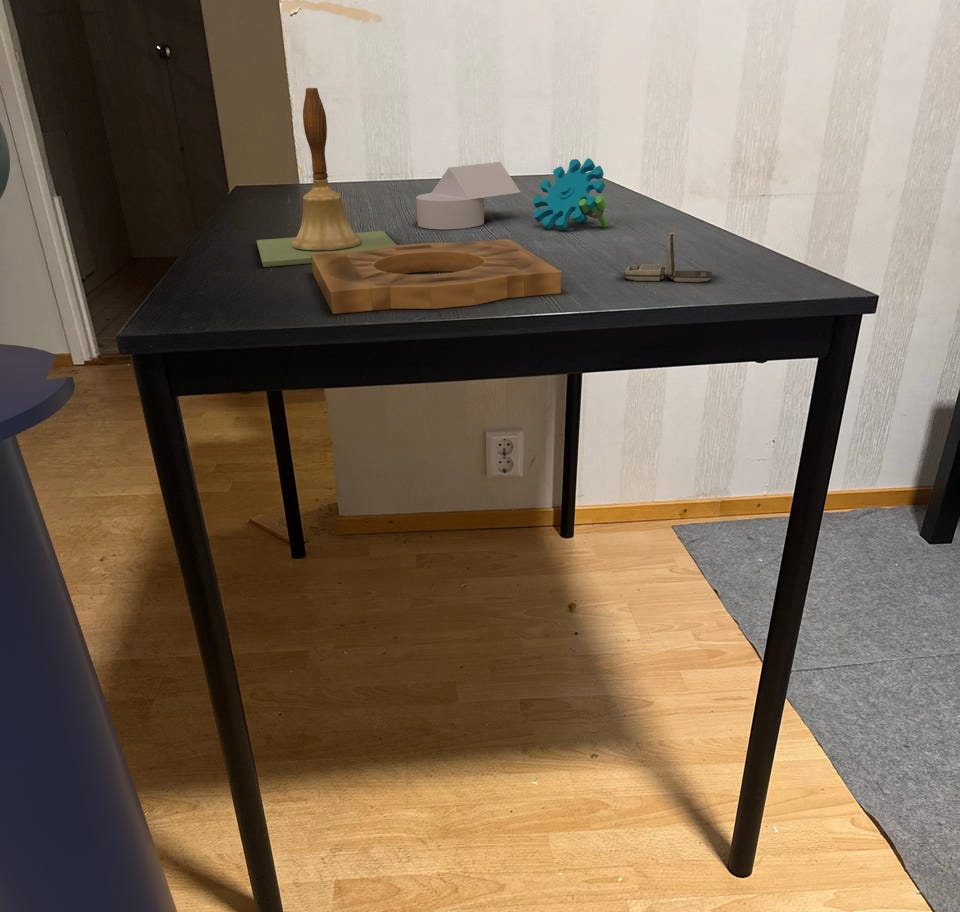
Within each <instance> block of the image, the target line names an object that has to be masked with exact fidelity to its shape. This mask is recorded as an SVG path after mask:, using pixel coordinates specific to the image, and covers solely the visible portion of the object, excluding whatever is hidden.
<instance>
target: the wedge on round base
mask: <svg viewBox="0 0 960 912" xmlns="http://www.w3.org/2000/svg"><path fill="white" fill-rule="evenodd" d="M521 192H522V191H520V189H519V187H518V186H517V185H516V183H515V181H514V180H513V178H512V177H511V175H510V174H509V173H508V171H507V169H506V168H505V166H504V165H503V164H502V162H501V161H496V162H485V163H477V164H468V165H459V166H451V167H448V168H446V171H445V172H444V174H443V175H442V177H441V178H440V179H439V181H438V182H437V183H436V185H435V187H434V188H433V189H432V191H431V192H427V193H421V194H418V195H417V196H416V197H415V201H416V216H417V226H418V227H420V228H422V229H423V228H424V229H429V230H462V229H470V228H476V227H479V226H482V225H484V224H485V206H484V205H485V204H484V203H485V202H484V200H485V198H490V197H497V196H498V197H499V196H505V195H513V194H519V193H521Z"/></svg>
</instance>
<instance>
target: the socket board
mask: <svg viewBox="0 0 960 912" xmlns="http://www.w3.org/2000/svg"><path fill="white" fill-rule="evenodd" d="M311 261H312V263H311V267H312V275H313V277H314V279H315V281H316V283H317V285H318V287H319V289H320V291H321V293H322V295H323V298H324V299H325V301H326V303H327V306H328V307H329V310H330V312H331V313H332V315H338V314H339V315H340V314H351V313H360V312H371V311H383V310H436V309H437V310H438V309H448V308H449V309H450V308H458V307H469V306H478V305H482V304H486V303H490V302H495V301H496V302H497V301H501V300H505V299H513V298H514V299H515V298H523V297H533V296H535V297H536V296H547V295H555V294H556V295H558V294H561V293H562V271H561V270H560V269H558V268H557V267H555V266H554V265H552V264H550V263H549V262H547V261H545V260H544V259H542V258H540V257H539V256H537V255H535V254H534V253H532V252H530V251H529V250H527V249H526V248H524V247H522V246H520V245H519V244H518V243H516V242H514V241H513V240H511V239H510V238H505V239H492V240H479V241H478V240H477V241H466V242H422V243H410V244H409V243H408V244H397V245H395V246H387V247H380V248H374V249H368V250H362V251H351V252H338V253H325V254H313V255H311ZM427 272H430V274H416V273H427ZM432 272H433V273H432ZM435 272H436V273H435ZM437 272H438V273H437ZM439 272H442V273H439ZM443 272H444V273H443Z"/></svg>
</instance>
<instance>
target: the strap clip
mask: <svg viewBox="0 0 960 912" xmlns="http://www.w3.org/2000/svg"><path fill="white" fill-rule="evenodd" d="M676 233H677V232H676V231H669V233H668V235H667V239H666V248H665V249H666V250H665V251H666V252H665V253H666V266H663V265H662V264H643V263H641V264H640V263H639V264H633V265H629V266H627V267H626V269H625V270H624V278H625V279H628V280H631V281H635V282H660V280H664V278H665V270H667V275H668V278H670V280H673V281H674V282H675V283H677V282H679V283H703V282H708V281H710V280H711V279H712V274H713V272H712V271H709V270H675V251H674V249H675V248H674V247H675V246H674V237H675V236H676Z"/></svg>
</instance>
